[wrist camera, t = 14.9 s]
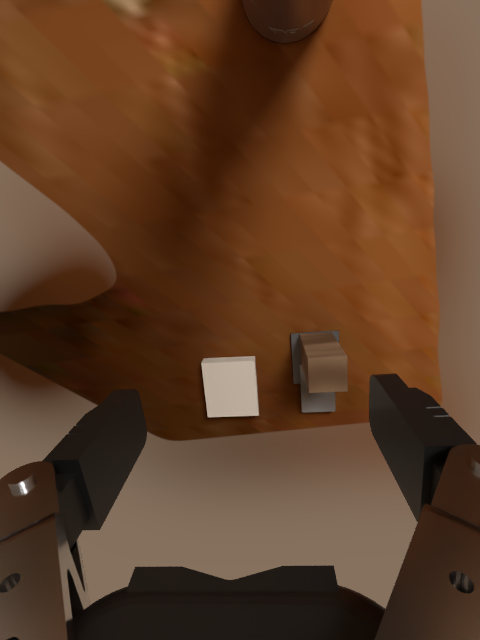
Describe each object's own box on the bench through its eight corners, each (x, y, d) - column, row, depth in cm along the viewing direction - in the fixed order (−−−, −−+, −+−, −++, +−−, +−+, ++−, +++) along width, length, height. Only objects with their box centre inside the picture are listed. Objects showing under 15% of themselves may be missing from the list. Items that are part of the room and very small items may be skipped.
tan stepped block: (298, 334, 41) (305, 358, 33) (333, 331, 41) (349, 355, 33) (301, 410, 44) (309, 448, 36) (334, 408, 44) (349, 447, 36)
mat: (290, 333, 41) (291, 334, 41) (338, 330, 41) (338, 331, 41) (293, 382, 43) (293, 384, 43) (338, 380, 43) (339, 381, 42)
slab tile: (201, 363, 42) (207, 417, 44) (254, 360, 41) (258, 415, 43) (203, 357, 44) (210, 409, 46) (255, 355, 43) (258, 407, 45)
